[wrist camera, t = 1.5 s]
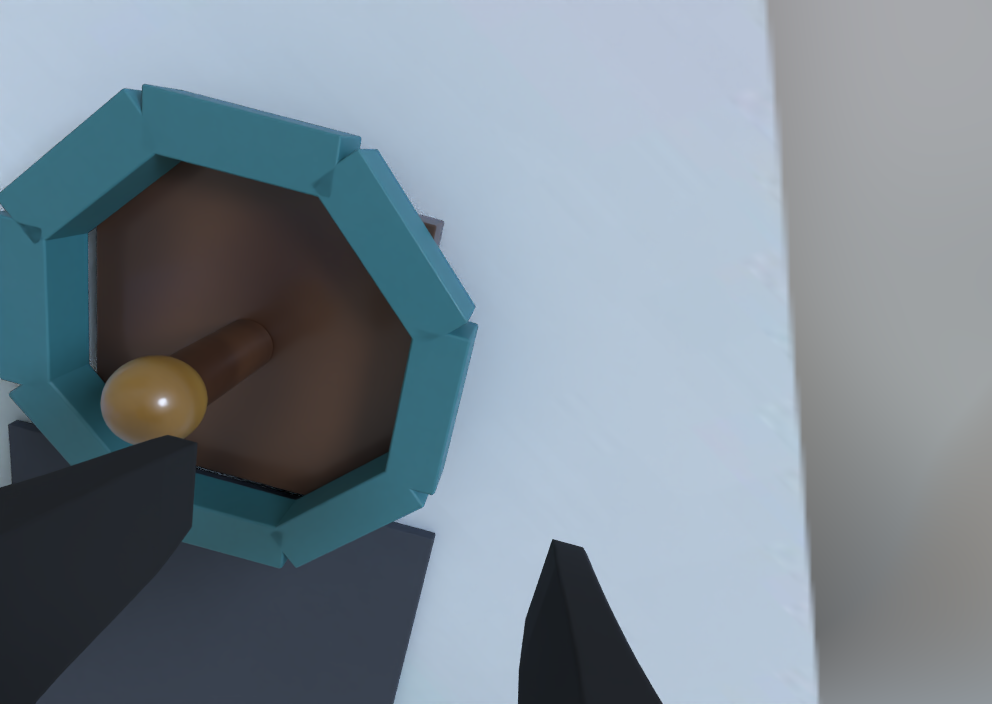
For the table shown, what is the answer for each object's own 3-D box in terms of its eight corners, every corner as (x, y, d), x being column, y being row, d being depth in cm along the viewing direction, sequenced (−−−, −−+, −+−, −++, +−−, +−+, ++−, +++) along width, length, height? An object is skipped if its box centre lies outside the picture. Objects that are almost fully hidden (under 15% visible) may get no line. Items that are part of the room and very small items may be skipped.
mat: (34, 718, 27) (27, 727, 26) (17, 419, 21) (7, 424, 21) (366, 811, 26) (363, 821, 26) (435, 532, 21) (433, 539, 21)
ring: (47, 470, 20) (7, 495, 19) (31, 51, 16) (-24, 40, 14) (418, 571, 20) (407, 605, 19) (514, 176, 15) (510, 179, 14)
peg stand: (121, 424, 21) (-69, 542, 15) (125, 137, 17) (-122, 128, 11) (387, 496, 21) (312, 646, 14) (444, 220, 17) (378, 260, 11)
